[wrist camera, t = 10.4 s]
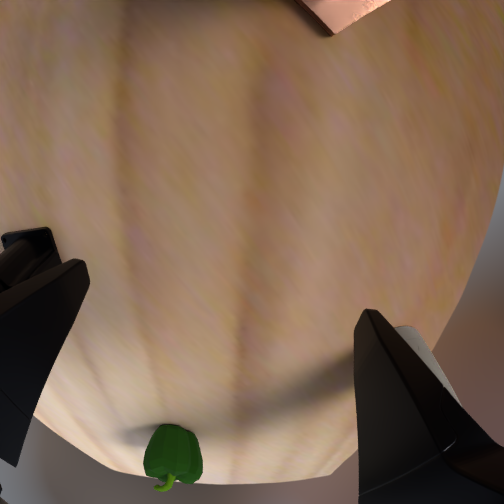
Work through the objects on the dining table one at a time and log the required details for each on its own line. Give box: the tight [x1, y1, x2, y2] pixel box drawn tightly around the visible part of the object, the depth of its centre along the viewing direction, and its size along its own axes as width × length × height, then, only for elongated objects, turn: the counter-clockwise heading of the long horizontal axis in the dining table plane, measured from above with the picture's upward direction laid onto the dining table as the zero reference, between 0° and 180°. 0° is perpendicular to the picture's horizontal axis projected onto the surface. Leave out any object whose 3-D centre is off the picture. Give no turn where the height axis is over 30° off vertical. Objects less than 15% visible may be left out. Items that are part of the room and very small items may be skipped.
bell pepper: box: [143, 425, 203, 492], centre depth 30 cm, size 8×8×10 cm
